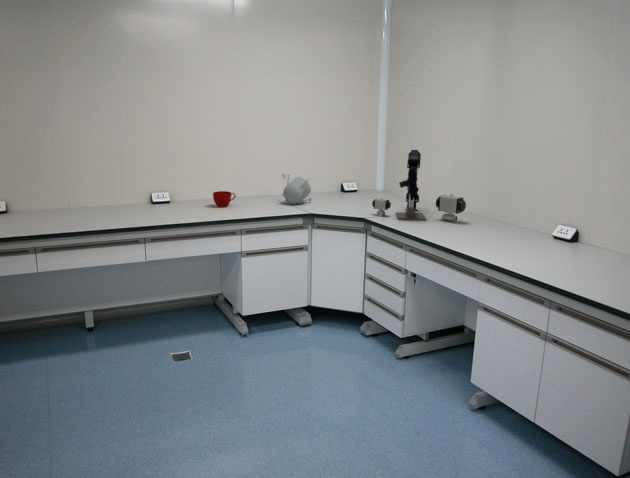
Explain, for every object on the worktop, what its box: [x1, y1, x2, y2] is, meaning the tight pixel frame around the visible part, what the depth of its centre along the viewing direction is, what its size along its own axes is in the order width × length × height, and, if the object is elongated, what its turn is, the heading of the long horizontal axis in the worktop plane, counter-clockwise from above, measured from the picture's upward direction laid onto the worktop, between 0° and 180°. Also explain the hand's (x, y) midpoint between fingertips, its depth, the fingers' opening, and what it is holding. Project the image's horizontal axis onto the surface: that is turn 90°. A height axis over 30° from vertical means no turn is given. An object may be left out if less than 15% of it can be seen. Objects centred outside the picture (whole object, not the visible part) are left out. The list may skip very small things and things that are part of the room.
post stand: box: [395, 206, 427, 222], centre depth 362 cm, size 18×18×7 cm
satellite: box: [281, 173, 312, 205], centre depth 404 cm, size 23×20×25 cm
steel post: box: [408, 194, 414, 208], centre depth 360 cm, size 3×3×10 cm
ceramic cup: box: [212, 190, 236, 208], centre depth 393 cm, size 13×17×10 cm
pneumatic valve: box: [371, 197, 392, 217], centre depth 367 cm, size 6×12×12 cm, turn 60°
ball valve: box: [435, 193, 467, 223], centre depth 352 cm, size 18×8×18 cm, turn 49°
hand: (411, 200), depth 360 cm, fingers closed on steel post, 3 cm apart
